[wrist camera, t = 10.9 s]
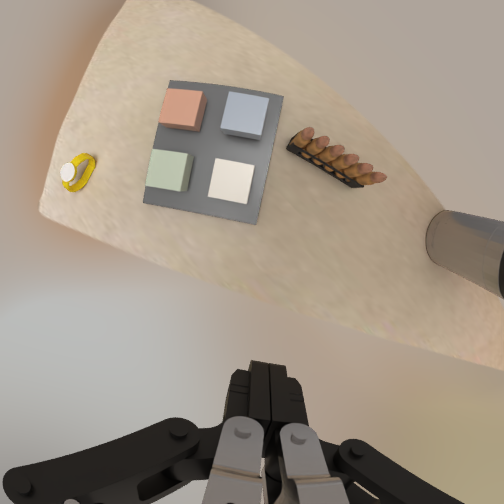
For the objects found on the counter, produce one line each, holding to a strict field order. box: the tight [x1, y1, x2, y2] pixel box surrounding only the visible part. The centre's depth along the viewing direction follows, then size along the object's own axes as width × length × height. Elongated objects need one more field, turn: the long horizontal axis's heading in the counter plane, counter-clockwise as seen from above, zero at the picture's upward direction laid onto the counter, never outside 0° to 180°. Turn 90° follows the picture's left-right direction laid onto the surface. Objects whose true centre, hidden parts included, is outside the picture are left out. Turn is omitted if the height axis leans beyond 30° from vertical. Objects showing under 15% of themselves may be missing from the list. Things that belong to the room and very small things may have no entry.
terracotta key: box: [158, 88, 207, 132], centre depth 32 cm, size 5×5×4 cm
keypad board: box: [143, 80, 284, 225], centre depth 35 cm, size 16×18×4 cm
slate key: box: [220, 91, 269, 140], centre depth 31 cm, size 5×5×4 cm
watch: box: [60, 153, 95, 192], centre depth 35 cm, size 6×3×6 cm, turn 144°
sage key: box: [145, 149, 194, 191], centre depth 34 cm, size 5×5×4 cm
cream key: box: [208, 158, 255, 204], centre depth 34 cm, size 5×5×4 cm
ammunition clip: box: [286, 127, 387, 188], centre depth 31 cm, size 11×2×12 cm, turn 62°
